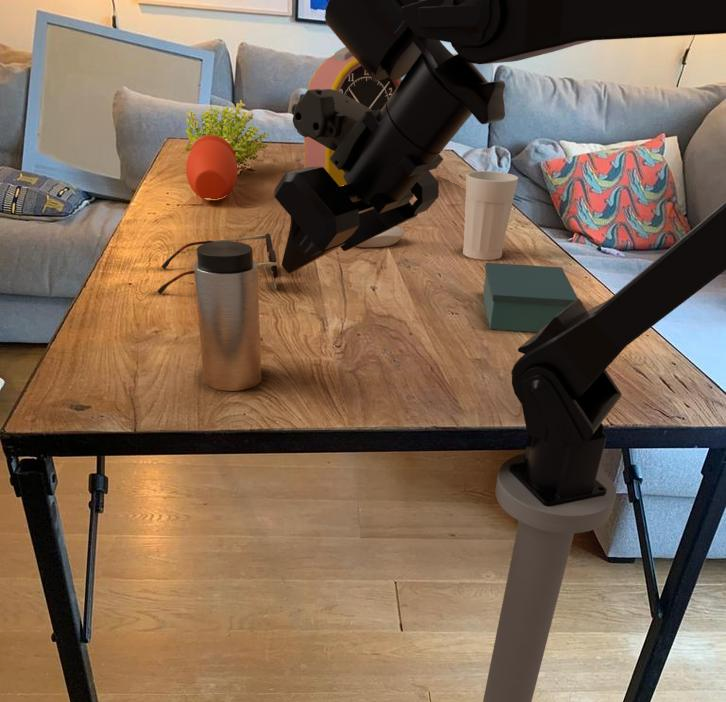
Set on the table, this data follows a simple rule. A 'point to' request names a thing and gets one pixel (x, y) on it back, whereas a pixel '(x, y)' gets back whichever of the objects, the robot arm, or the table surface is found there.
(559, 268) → the lidded box
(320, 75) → the alarm clock
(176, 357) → the table surface
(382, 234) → the computer mouse
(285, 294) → the table surface
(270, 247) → the sunglasses
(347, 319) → the table surface
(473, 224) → the cup
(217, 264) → the flask
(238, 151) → the potted plant
